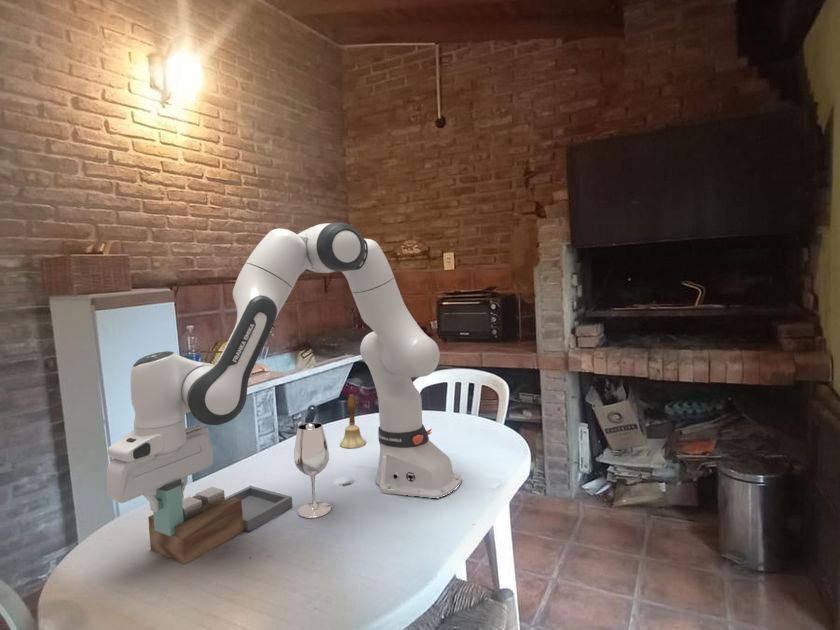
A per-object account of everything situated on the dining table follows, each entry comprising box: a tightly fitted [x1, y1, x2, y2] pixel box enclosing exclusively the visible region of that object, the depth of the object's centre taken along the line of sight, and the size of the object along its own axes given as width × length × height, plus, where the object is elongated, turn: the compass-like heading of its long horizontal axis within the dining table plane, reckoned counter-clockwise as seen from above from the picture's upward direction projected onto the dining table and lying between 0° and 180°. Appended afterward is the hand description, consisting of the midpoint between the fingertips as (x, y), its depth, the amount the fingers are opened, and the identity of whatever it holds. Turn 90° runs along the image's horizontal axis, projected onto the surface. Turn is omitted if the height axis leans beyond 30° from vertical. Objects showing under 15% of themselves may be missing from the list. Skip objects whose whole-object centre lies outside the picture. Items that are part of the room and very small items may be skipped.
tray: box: [225, 485, 293, 533], centre depth 118 cm, size 14×13×2 cm
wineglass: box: [293, 422, 332, 519], centre depth 117 cm, size 8×8×20 cm
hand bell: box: [339, 393, 367, 449], centre depth 162 cm, size 8×8×16 cm
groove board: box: [147, 495, 245, 565], centre depth 106 cm, size 11×14×7 cm
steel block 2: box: [195, 486, 226, 512], centre depth 109 cm, size 4×4×4 cm
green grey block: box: [152, 480, 184, 536], centre depth 100 cm, size 5×3×10 cm, turn 60°
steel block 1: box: [182, 496, 203, 522], centre depth 104 cm, size 4×4×4 cm
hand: (167, 505), depth 100 cm, fingers closed on green grey block, 3 cm apart
